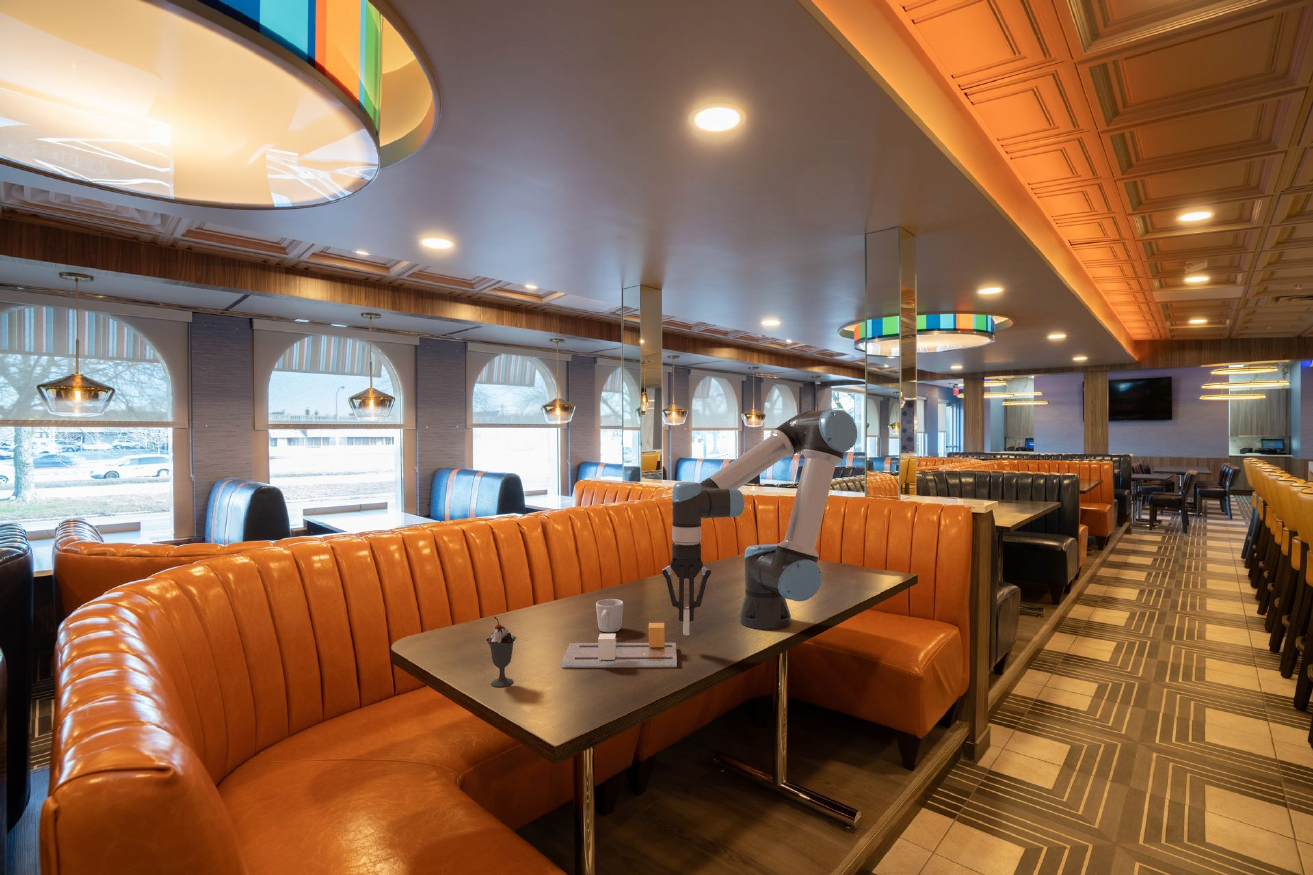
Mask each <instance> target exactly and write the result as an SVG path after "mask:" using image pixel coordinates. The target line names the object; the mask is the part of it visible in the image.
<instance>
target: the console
mask: <svg viewBox="0 0 1313 875" xmlns="http://www.w3.org/2000/svg"><path fill="white" fill-rule="evenodd" d="M677 663H678V660H677V643H676V642H664V647H649V642H616V656H615V660H598V642H569V643H568V646H567V648H566V650H565V652H564V655H563V657H562V659H561V661H560V664H561V665H560V668H561V669H562V668H563V669H564V668H565V669H566V668H567V669H569V668H571V669H572V668H578V669H579V668H581V669H582V668H584V669H585V668H586V669H589V668H591V669H592V668H597V669H598V668H601V669H602V668H604V669H605V668H608V669H609V668H678V664H677Z"/></svg>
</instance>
